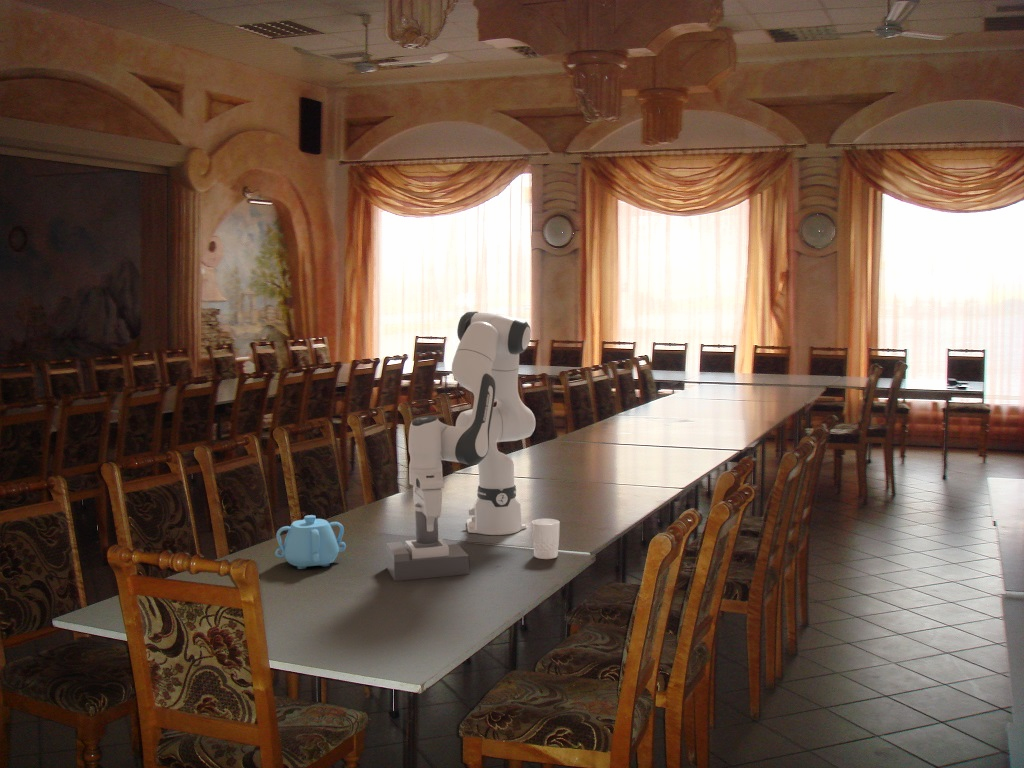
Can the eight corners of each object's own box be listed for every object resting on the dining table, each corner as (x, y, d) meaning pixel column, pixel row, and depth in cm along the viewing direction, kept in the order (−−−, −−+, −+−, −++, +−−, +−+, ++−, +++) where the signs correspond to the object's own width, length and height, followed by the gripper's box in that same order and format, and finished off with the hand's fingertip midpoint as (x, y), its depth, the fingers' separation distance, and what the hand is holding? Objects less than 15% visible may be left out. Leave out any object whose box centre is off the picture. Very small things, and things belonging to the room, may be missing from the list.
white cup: (558, 552, 292) (558, 518, 291) (561, 559, 285) (560, 524, 284) (531, 552, 292) (530, 518, 291) (532, 560, 284) (532, 525, 283)
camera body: (386, 567, 278) (386, 541, 278) (458, 561, 284) (457, 535, 283) (394, 580, 266) (394, 552, 265) (469, 574, 271) (468, 546, 271)
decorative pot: (269, 567, 281) (267, 518, 280) (309, 553, 295) (307, 507, 294) (313, 575, 273) (311, 525, 272) (352, 560, 287) (351, 513, 285)
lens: (414, 539, 276) (413, 503, 275) (436, 537, 278) (435, 501, 277) (418, 544, 270) (417, 507, 269) (440, 542, 272) (439, 505, 271)
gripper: (407, 471, 281) (408, 520, 283) (421, 484, 262) (422, 537, 263) (429, 469, 283) (430, 518, 285) (445, 483, 264) (446, 535, 265)
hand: (427, 527), depth 274 cm, fingers closed on lens, 6 cm apart
